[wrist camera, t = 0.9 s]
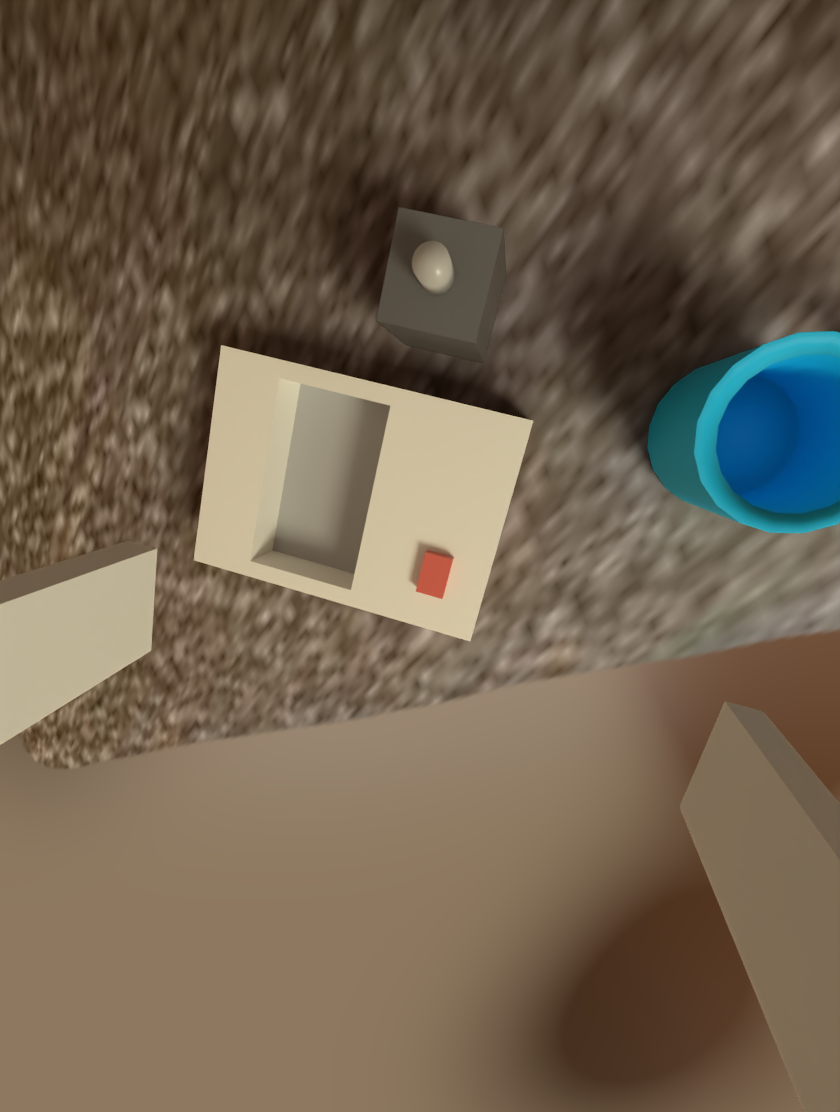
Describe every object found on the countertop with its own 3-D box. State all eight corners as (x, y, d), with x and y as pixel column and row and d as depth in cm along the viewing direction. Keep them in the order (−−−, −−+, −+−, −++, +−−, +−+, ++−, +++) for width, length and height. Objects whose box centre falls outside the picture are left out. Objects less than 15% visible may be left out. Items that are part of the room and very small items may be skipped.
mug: (680, 531, 31) (737, 564, 23) (623, 405, 30) (662, 395, 22) (905, 434, 28) (1058, 434, 20) (850, 290, 27) (989, 230, 19)
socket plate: (251, 354, 33) (214, 343, 29) (531, 422, 31) (533, 420, 27) (223, 548, 36) (187, 562, 32) (474, 621, 34) (469, 645, 30)
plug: (424, 258, 30) (388, 186, 21) (506, 275, 29) (502, 209, 21) (405, 345, 31) (364, 310, 23) (483, 363, 31) (471, 335, 22)
